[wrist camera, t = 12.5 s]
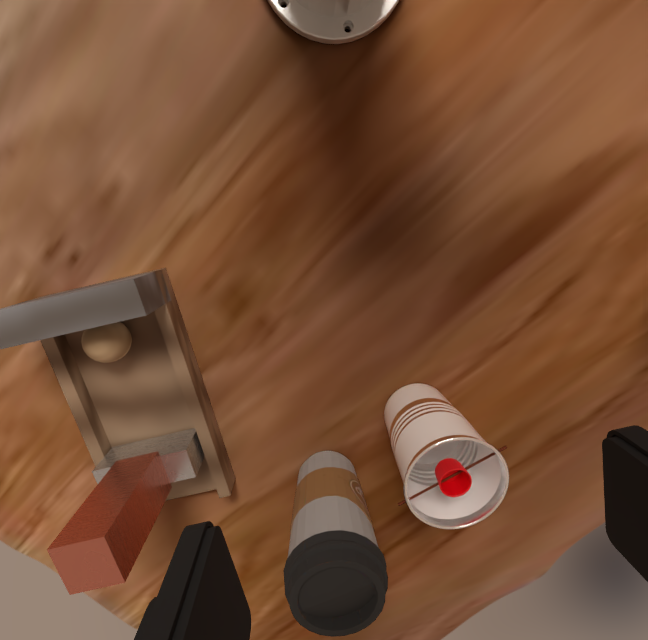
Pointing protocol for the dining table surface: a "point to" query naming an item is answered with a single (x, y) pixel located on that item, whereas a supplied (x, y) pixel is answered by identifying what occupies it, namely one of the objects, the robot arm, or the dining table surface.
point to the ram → (122, 509)
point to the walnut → (107, 342)
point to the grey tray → (126, 370)
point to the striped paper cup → (443, 460)
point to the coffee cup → (333, 551)
